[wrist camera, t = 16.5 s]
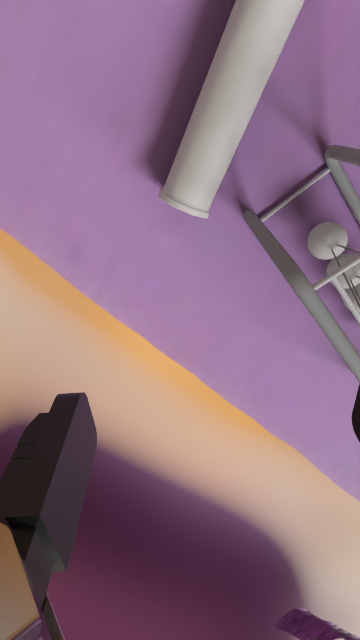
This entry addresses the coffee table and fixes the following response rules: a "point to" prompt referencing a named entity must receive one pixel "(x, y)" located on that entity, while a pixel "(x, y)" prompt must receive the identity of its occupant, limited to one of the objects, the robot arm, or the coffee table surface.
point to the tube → (228, 100)
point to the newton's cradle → (323, 257)
